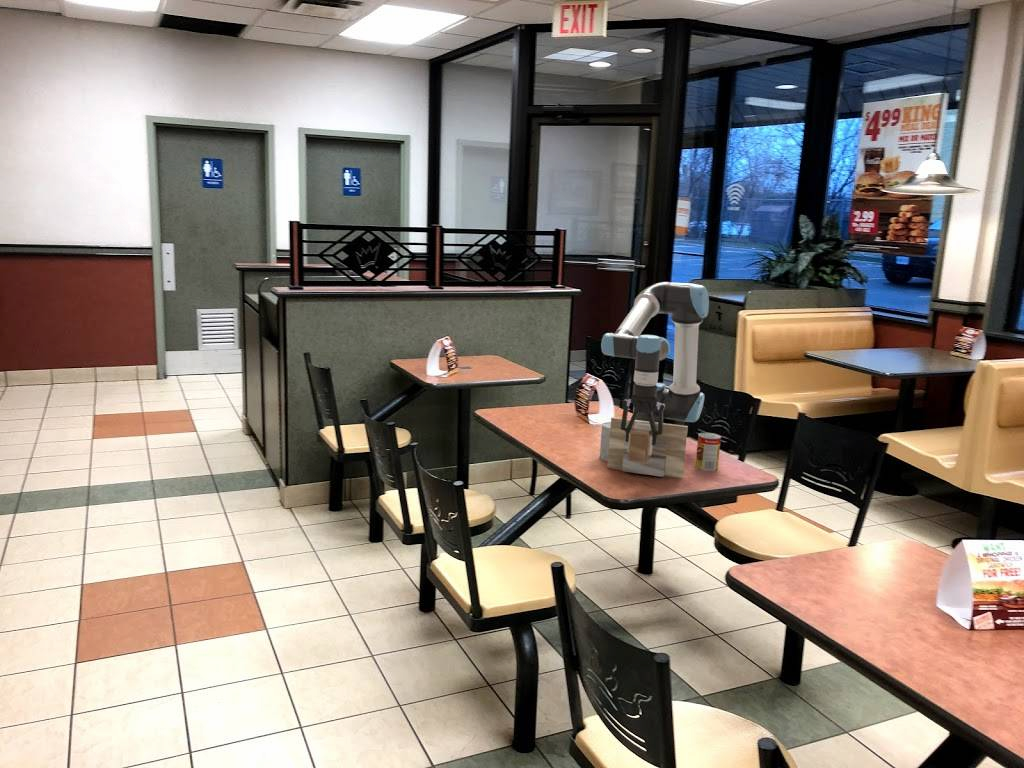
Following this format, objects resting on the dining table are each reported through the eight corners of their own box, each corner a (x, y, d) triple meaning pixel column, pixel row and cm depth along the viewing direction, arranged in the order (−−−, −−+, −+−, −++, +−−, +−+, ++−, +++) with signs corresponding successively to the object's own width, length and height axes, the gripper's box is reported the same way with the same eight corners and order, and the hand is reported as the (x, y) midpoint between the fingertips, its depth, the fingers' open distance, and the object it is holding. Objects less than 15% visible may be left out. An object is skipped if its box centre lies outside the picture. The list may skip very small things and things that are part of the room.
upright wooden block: (634, 451, 279) (636, 422, 277) (652, 453, 278) (654, 424, 276) (627, 461, 267) (629, 431, 265) (646, 464, 265) (648, 433, 263)
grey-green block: (624, 463, 297) (627, 430, 295) (598, 460, 299) (600, 427, 297) (626, 456, 307) (629, 423, 304) (600, 453, 308) (603, 421, 306)
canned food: (712, 464, 301) (715, 432, 299) (721, 471, 294) (724, 438, 291) (691, 464, 300) (694, 432, 297) (700, 471, 292) (703, 438, 290)
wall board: (608, 466, 292) (612, 417, 289) (683, 477, 285) (687, 426, 281) (604, 471, 286) (608, 420, 283) (680, 482, 279) (685, 430, 275)
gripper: (613, 382, 265) (608, 452, 270) (673, 389, 260) (667, 459, 264) (618, 378, 272) (613, 446, 277) (676, 384, 267) (670, 453, 271)
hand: (639, 452), depth 271 cm, fingers closed on upright wooden block, 6 cm apart
